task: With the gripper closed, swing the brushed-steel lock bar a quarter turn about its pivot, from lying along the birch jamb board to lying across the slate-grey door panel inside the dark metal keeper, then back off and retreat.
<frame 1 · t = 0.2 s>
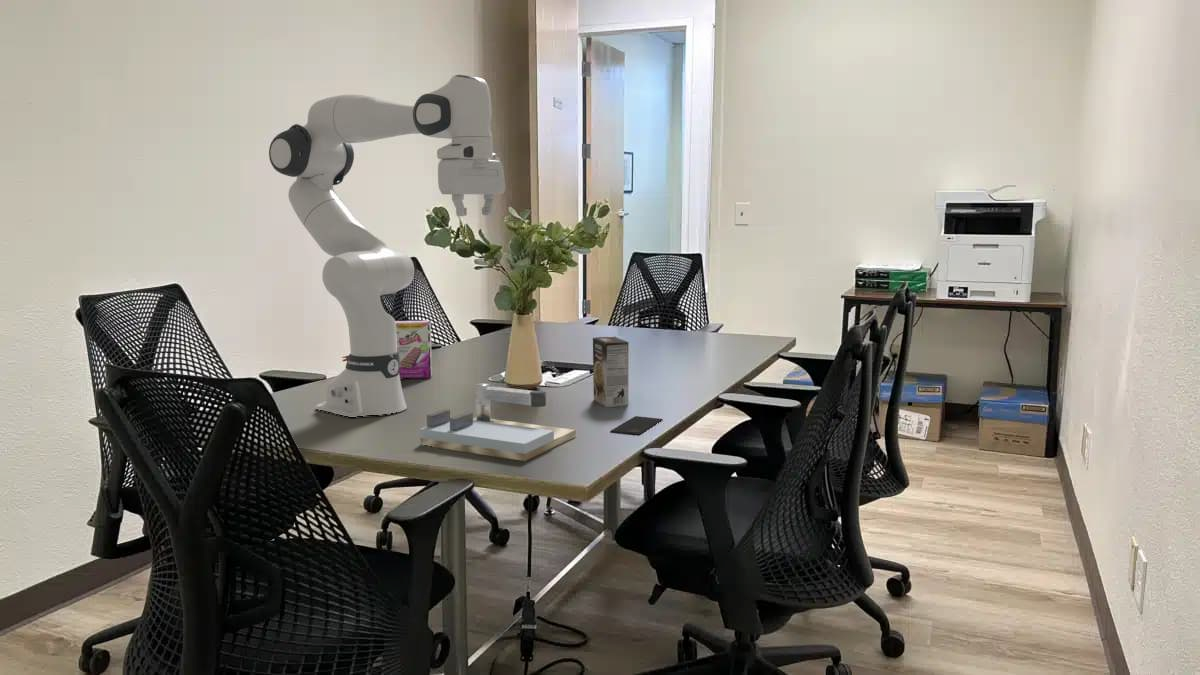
hand: (474, 215, 195), 47 cm above the table, fingers open, 8 cm apart
lock bar: (510, 406, 194), point 6 cm above the table, hinge at 0.0°
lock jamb: (499, 440, 188), on the table
smartphone: (637, 428, 200), on the table
coffee box: (610, 403, 223), on the table
candy bar box: (412, 378, 256), on the table
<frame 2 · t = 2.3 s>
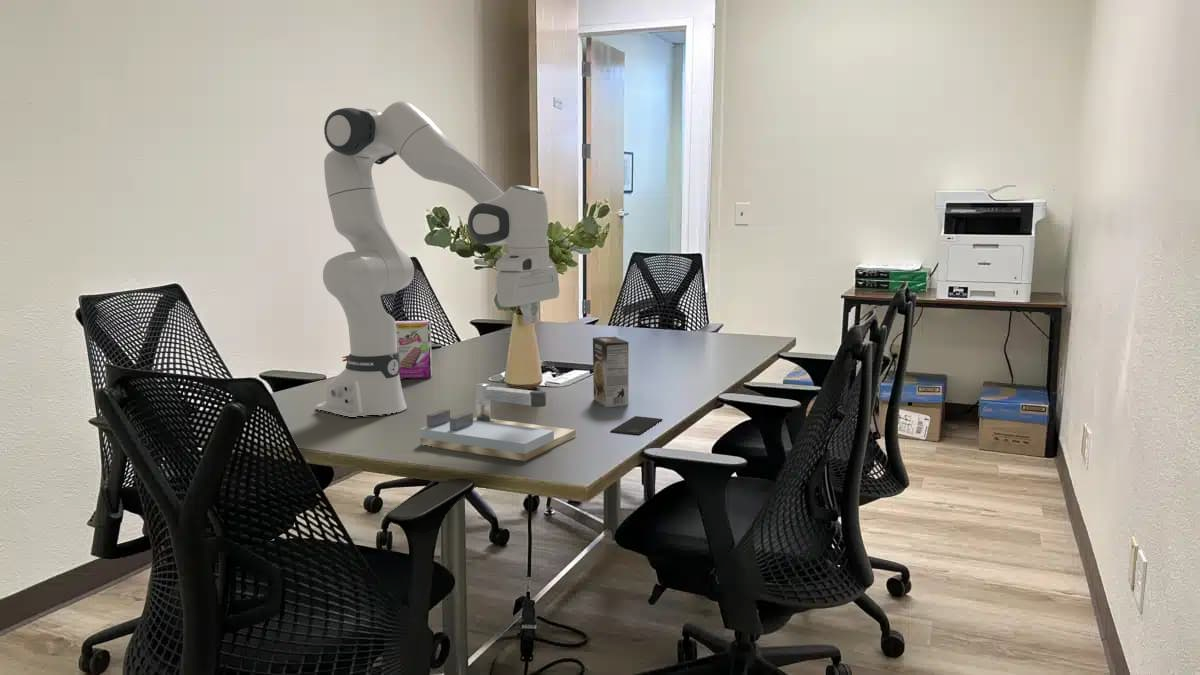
hand: (530, 322, 196), 24 cm above the table, fingers closed
nothing on the table moved.
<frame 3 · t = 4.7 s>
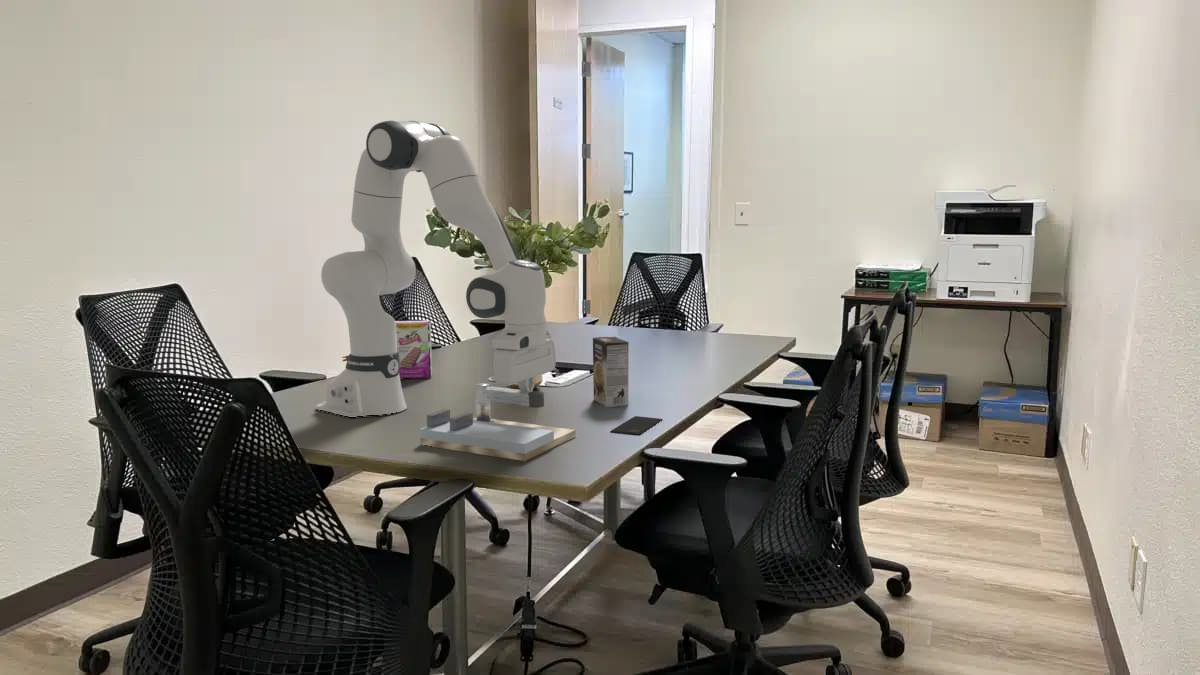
hand: (526, 397, 194), 8 cm above the table, fingers closed
lock bar: (509, 406, 194), point 6 cm above the table, hinge at -2.9°, touching gripper
everything else where it was.
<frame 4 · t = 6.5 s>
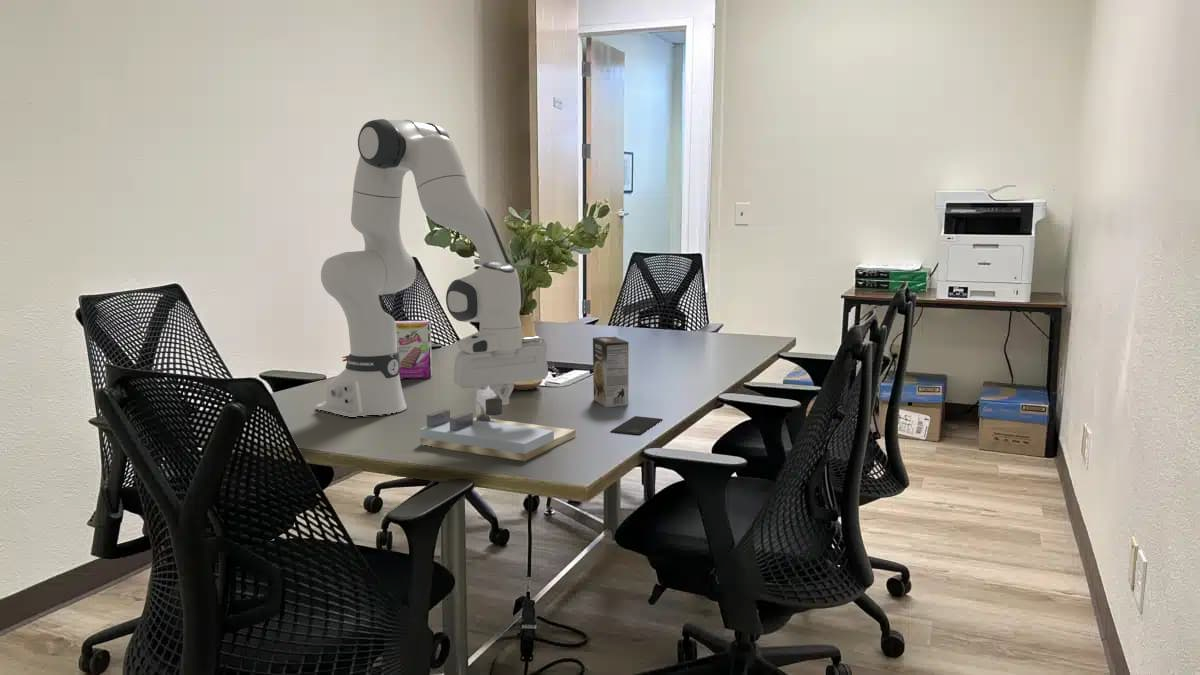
hand: (503, 404, 188), 8 cm above the table, fingers closed
lock bar: (488, 410, 191), point 6 cm above the table, hinge at -45.3°, touching gripper
everything else where it was.
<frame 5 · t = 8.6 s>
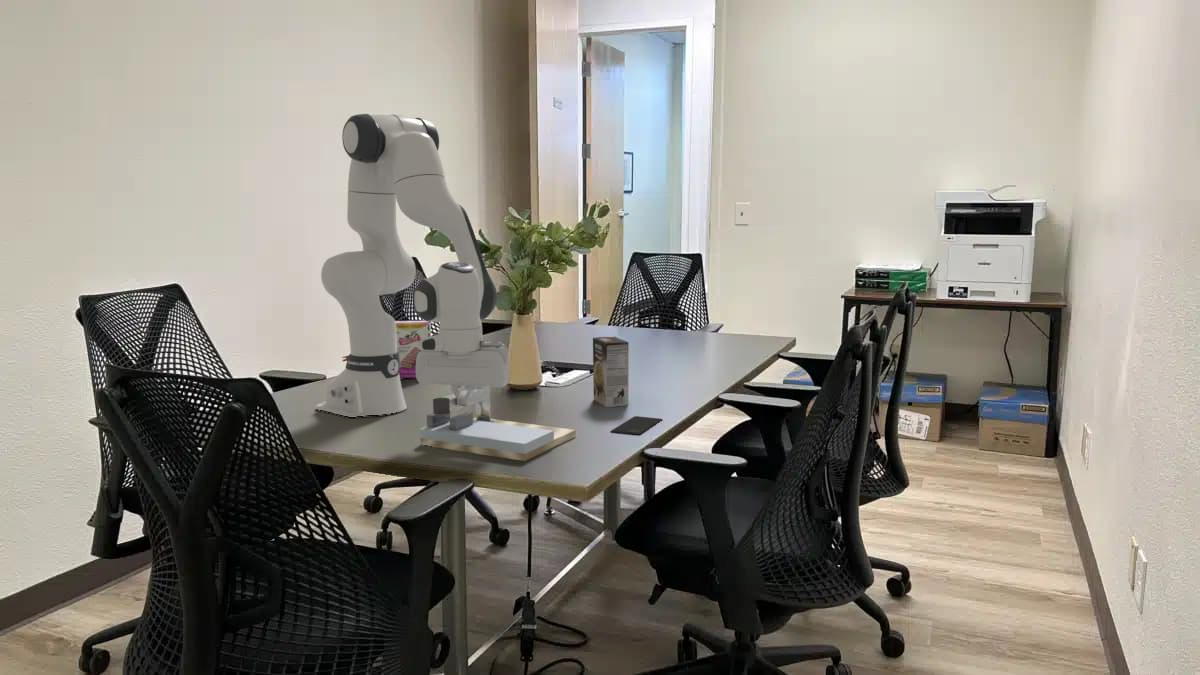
hand: (464, 405, 187), 8 cm above the table, fingers closed
lock bar: (462, 409, 191), point 6 cm above the table, hinge at -90.5°, touching gripper
everything else where it was.
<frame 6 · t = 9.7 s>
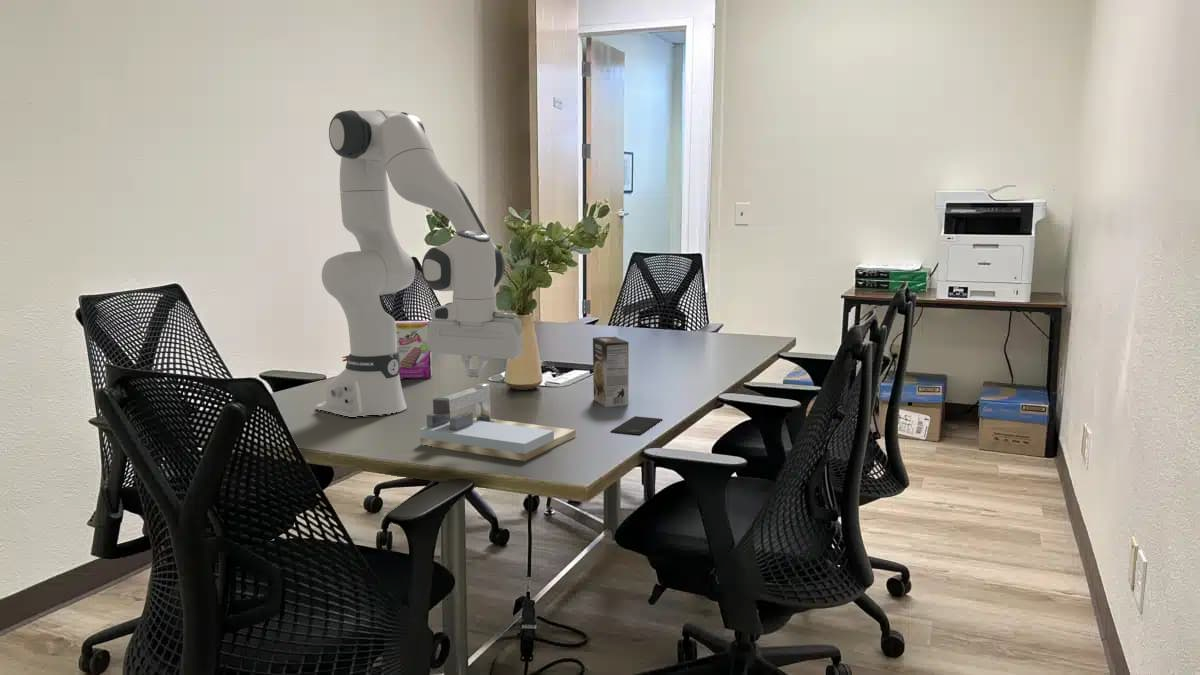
hand: (475, 376, 184), 14 cm above the table, fingers closed
lock bar: (462, 409, 191), point 6 cm above the table, hinge at -90.6°
everything else where it was.
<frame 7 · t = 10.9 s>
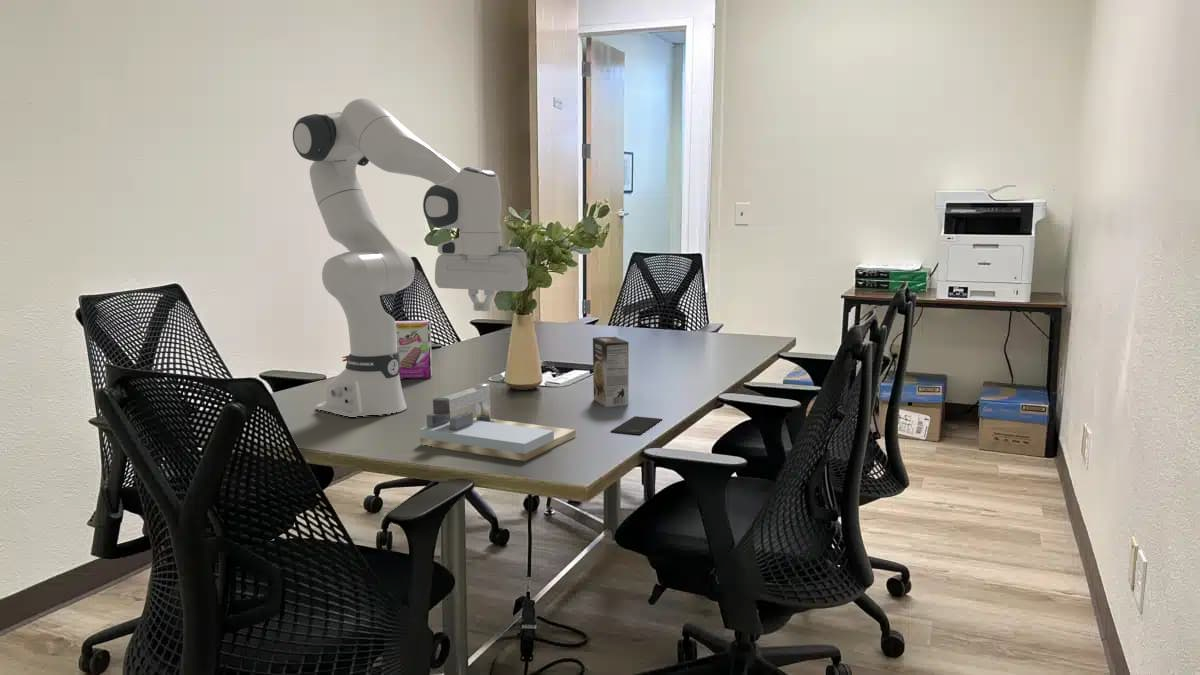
hand: (481, 310, 189), 27 cm above the table, fingers closed
nothing on the table moved.
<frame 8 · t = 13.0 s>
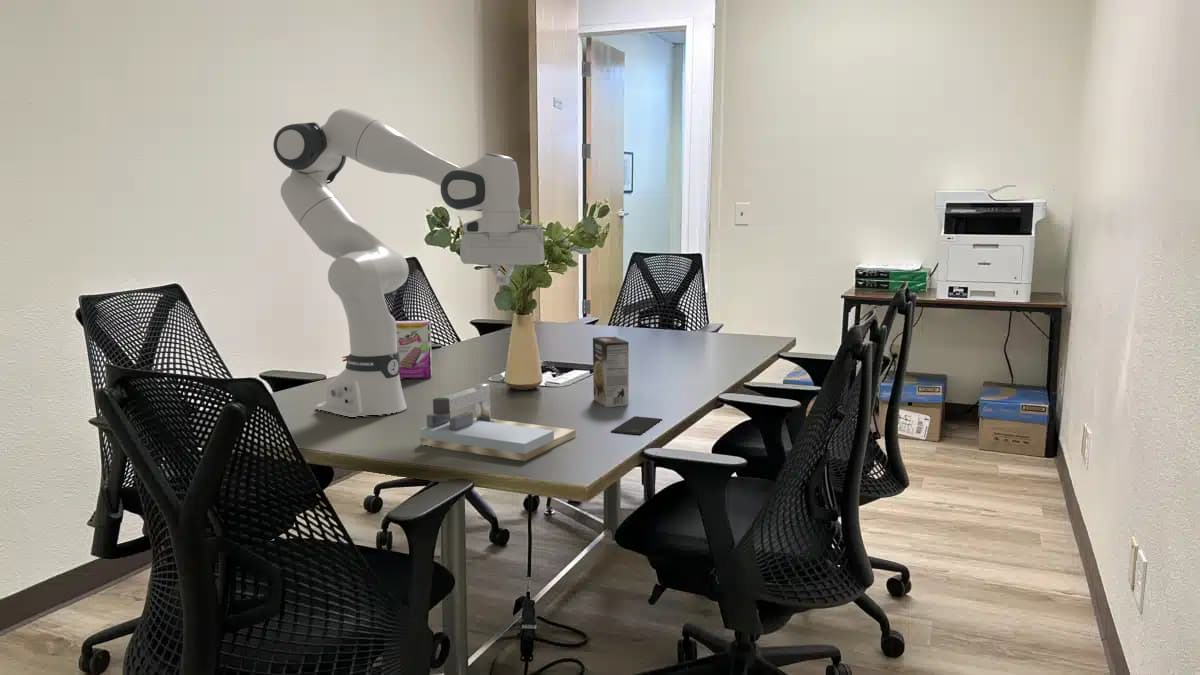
hand: (503, 283, 209), 31 cm above the table, fingers closed
nothing on the table moved.
at the end: lock bar at -91° (first picture: +0°) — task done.
